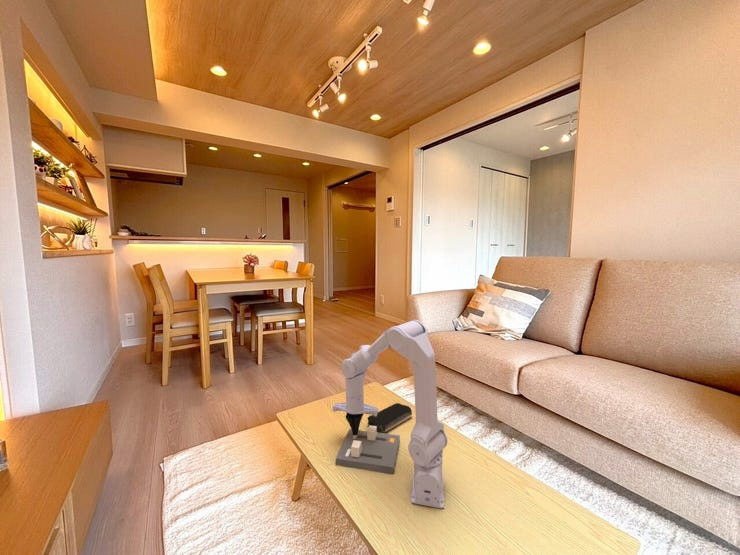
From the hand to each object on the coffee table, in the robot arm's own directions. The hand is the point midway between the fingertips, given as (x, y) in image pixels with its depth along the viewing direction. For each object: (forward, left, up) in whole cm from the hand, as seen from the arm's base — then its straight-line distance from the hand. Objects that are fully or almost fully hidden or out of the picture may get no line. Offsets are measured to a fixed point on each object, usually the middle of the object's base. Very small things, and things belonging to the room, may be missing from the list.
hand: (355, 433), depth 96 cm
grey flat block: (-4, -5, -3) cm, 7 cm away
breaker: (-8, -3, -1) cm, 8 cm away
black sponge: (+13, -9, -3) cm, 16 cm away
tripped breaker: (0, -6, -1) cm, 6 cm away
